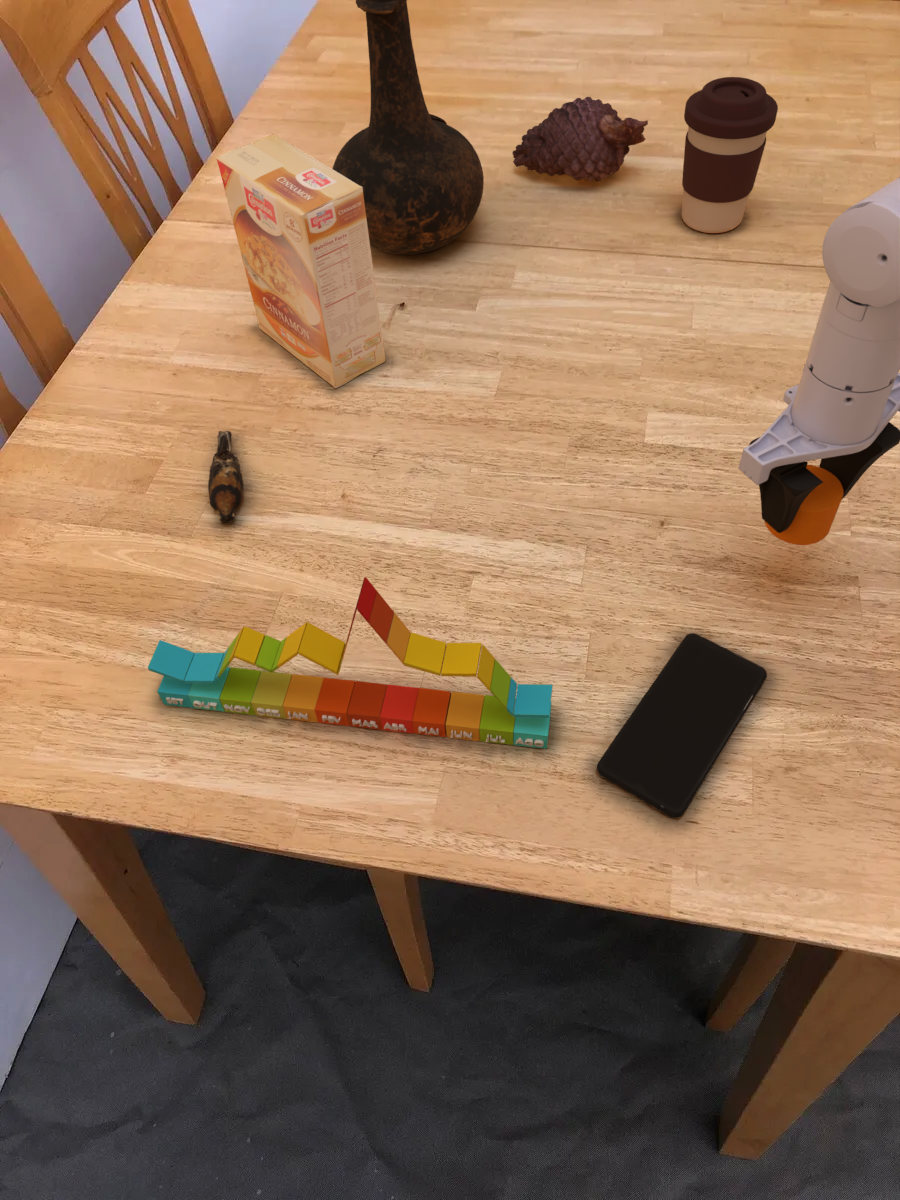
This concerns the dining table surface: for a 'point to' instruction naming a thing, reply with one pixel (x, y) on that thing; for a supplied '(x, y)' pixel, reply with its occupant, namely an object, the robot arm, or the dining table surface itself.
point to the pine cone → (579, 141)
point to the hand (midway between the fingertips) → (801, 509)
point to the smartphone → (682, 724)
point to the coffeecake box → (305, 256)
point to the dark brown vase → (407, 149)
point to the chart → (359, 683)
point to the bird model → (225, 480)
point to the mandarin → (814, 511)
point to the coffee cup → (723, 151)
